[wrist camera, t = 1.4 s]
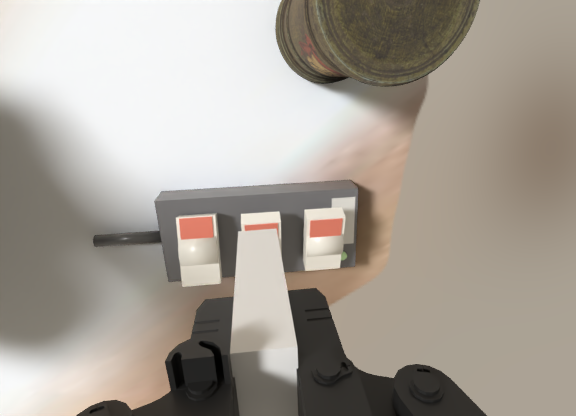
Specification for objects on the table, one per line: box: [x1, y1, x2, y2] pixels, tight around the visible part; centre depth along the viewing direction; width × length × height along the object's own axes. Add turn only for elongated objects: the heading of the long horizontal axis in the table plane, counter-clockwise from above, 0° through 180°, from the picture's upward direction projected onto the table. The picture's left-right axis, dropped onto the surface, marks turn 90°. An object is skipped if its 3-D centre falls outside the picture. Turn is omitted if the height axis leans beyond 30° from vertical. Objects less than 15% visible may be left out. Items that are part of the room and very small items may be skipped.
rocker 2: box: [241, 211, 282, 257], centre depth 35 cm, size 4×7×3 cm, turn 2°
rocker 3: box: [303, 207, 346, 271], centre depth 35 cm, size 4×7×3 cm, turn 2°
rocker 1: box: [176, 213, 222, 287], centre depth 34 cm, size 4×7×3 cm, turn 2°
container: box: [276, 0, 480, 86], centre depth 25 cm, size 9×9×18 cm
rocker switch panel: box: [93, 180, 358, 282], centre depth 38 cm, size 27×9×3 cm, turn 92°
